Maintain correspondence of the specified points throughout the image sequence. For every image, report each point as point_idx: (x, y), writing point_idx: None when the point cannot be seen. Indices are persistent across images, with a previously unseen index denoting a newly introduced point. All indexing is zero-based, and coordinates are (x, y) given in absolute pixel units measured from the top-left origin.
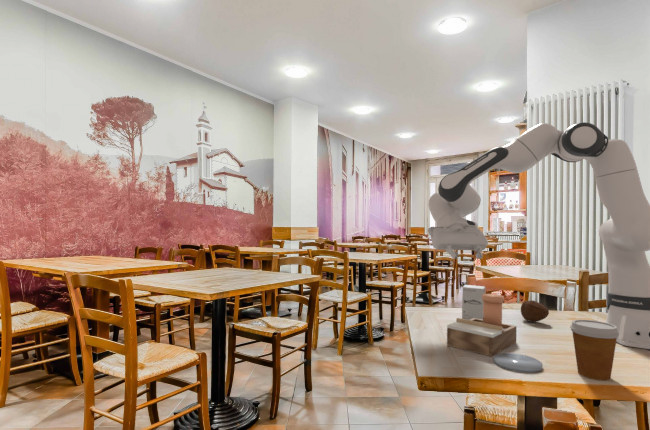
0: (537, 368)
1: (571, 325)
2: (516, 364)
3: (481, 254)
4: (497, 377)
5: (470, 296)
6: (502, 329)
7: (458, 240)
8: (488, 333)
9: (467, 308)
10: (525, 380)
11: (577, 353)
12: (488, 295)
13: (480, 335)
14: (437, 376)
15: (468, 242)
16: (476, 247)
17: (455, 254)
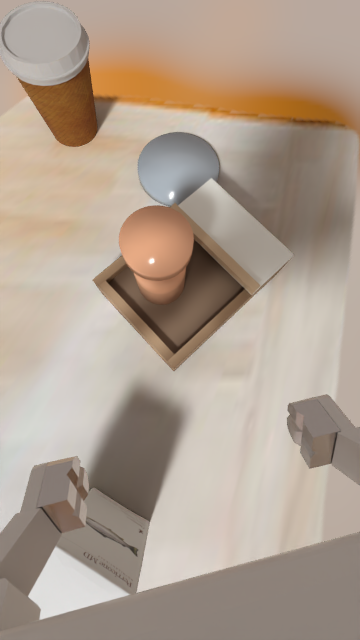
0: (163, 135)
1: (76, 61)
2: (191, 148)
3: (40, 476)
4: (242, 122)
5: (110, 549)
6: (134, 281)
7: (331, 624)
8: (217, 186)
9: (129, 531)
10: (203, 112)
11: (92, 99)
12: (172, 240)
13: None
14: (336, 126)
15: (140, 621)
16: (12, 623)
17: (323, 399)
